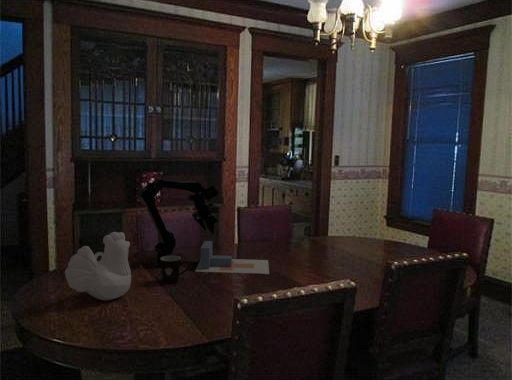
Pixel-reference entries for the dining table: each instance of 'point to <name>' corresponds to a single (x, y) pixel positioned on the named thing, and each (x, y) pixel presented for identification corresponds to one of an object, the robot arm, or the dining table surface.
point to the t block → (213, 257)
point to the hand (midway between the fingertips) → (209, 232)
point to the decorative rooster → (101, 269)
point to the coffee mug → (171, 268)
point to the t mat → (240, 267)
